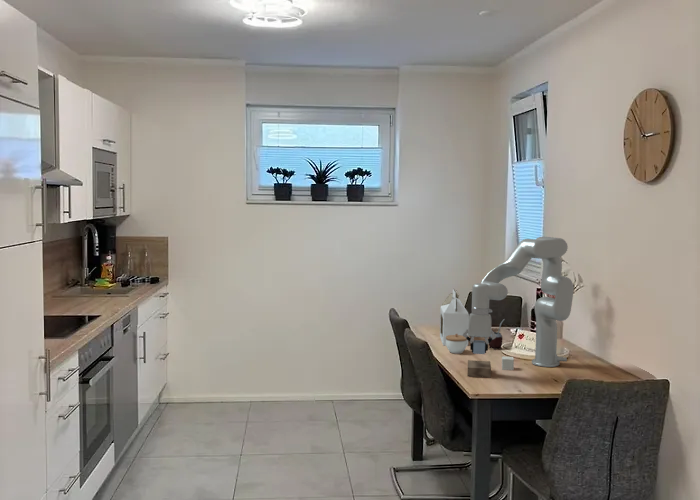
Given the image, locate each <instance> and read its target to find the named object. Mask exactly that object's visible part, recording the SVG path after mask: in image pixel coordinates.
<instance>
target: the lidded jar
mask: <svg viewBox="0 0 700 500" xmlns="http://www.w3.org/2000/svg"><path fill="white" fill-rule="evenodd" d="M466 345H467V339H466V338H465V337H464V336H462V335H458V334H456V335H448V336H446V346H445V347H446V348H447V350H448V351H449V352H450V353H451V354H463V352H465V349H466V348H467V346H466Z"/></svg>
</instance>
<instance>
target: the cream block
mask: <svg viewBox="0 0 700 500" xmlns="http://www.w3.org/2000/svg"><path fill="white" fill-rule="evenodd" d="M514 364H515V358H514V357H513V356H505V355H504V356H501V370H504V371H514V369H515V368H514V367H515V366H514Z"/></svg>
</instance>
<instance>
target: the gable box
mask: <svg viewBox="0 0 700 500" xmlns="http://www.w3.org/2000/svg"><path fill="white" fill-rule="evenodd" d="M459 296H460V294H459V292H458V291H457V290H456V289H455V288H452V293H449V294H448V296H447V297H446V298H445V300H443V302H442V304H441V305H440V308H439V309H440V313H439V314H440V315H439V317H440V319H439V338H440V341H441V344H442V346H445V347H447V346H446V336H448V335H456V334H458V335H462V336H463V333H464V332H465V331H466V330H467V329H468V322H469V316H470V313H469V311H468V309H466V308H465V306H464V303H462V301H461V299H460V298H459ZM467 336H469V335H468V333H467ZM466 347H469V341H468V340H467V345H466Z"/></svg>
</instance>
